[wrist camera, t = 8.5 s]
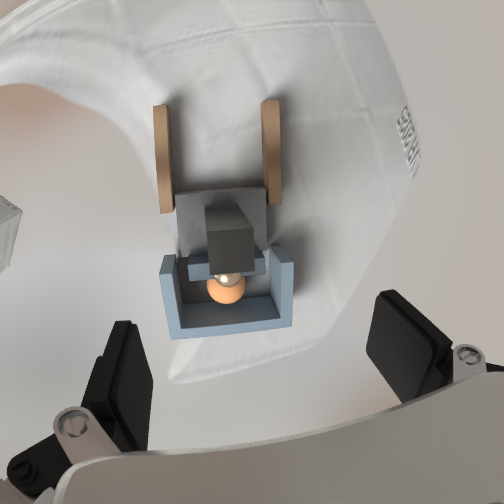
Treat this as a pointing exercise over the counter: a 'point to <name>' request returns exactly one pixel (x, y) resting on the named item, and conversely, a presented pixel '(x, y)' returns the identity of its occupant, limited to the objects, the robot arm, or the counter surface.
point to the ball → (226, 291)
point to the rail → (269, 149)
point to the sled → (223, 233)
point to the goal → (234, 314)
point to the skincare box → (7, 230)
